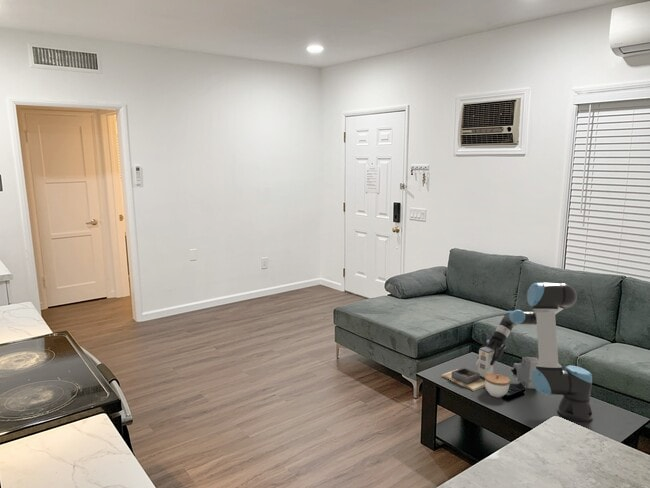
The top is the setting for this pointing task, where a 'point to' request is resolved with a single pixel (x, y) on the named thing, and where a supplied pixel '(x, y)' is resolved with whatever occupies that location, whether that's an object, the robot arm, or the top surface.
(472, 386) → the mount board
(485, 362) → the power strip
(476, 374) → the socket collar
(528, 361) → the circuit breaker
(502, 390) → the lidded bowl
